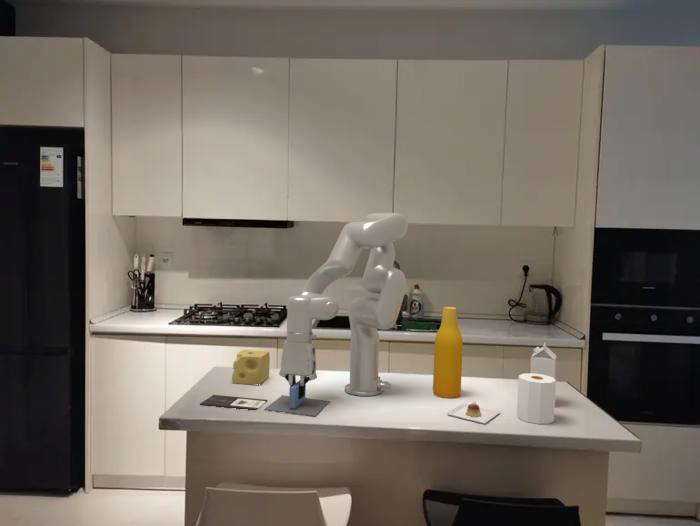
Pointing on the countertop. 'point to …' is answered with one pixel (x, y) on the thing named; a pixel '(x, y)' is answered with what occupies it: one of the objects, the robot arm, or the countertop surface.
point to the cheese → (251, 367)
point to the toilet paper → (536, 398)
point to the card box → (295, 395)
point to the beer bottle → (448, 356)
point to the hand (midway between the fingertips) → (297, 397)
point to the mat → (305, 408)
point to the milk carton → (543, 361)
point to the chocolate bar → (234, 402)
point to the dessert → (472, 411)
